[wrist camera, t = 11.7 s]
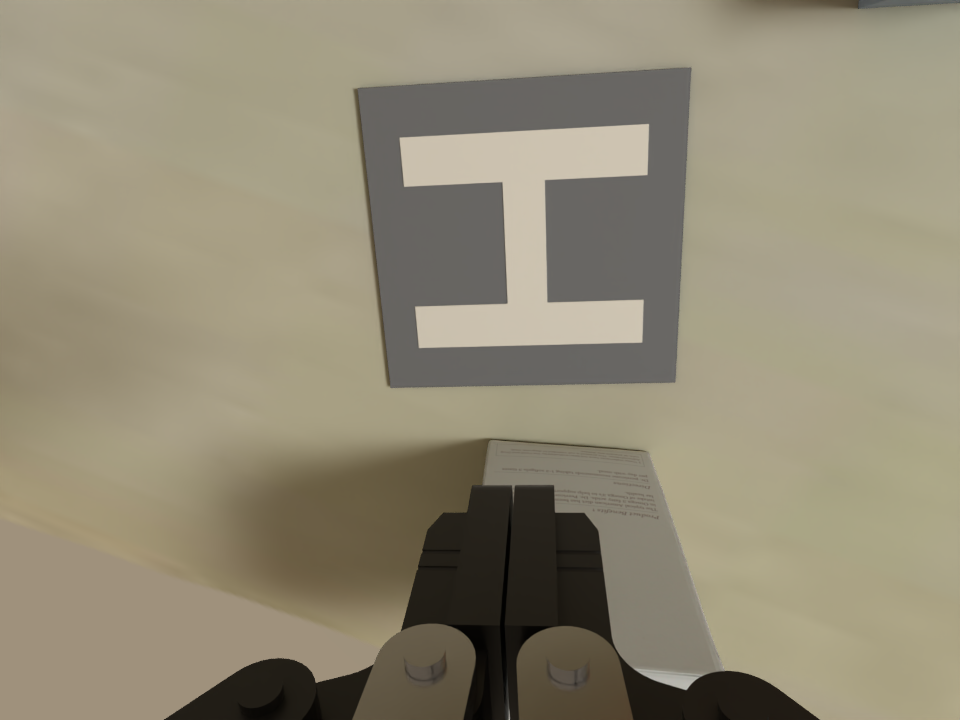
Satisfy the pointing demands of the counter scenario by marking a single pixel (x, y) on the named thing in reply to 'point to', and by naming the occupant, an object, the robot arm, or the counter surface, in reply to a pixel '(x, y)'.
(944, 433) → the counter surface
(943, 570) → the counter surface
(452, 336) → the letter mat
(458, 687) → the robot arm
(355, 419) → the counter surface
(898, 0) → the slate blue cube
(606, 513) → the supplement box
